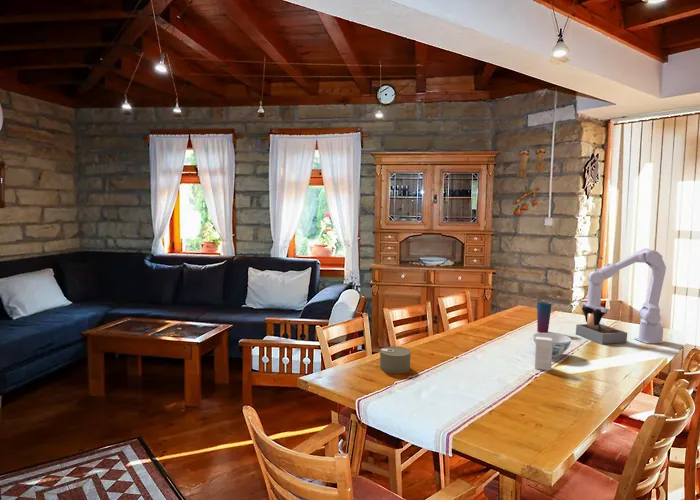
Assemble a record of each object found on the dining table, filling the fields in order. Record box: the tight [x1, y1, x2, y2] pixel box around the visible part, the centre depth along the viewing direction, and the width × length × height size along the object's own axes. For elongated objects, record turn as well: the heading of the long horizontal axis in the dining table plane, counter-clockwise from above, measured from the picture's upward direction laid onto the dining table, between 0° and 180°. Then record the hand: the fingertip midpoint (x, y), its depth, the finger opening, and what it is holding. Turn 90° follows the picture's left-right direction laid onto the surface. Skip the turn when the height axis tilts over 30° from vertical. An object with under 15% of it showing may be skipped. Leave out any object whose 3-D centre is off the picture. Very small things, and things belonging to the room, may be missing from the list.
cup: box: [536, 300, 552, 333], centre depth 241 cm, size 7×7×15 cm
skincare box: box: [534, 337, 553, 371], centre depth 187 cm, size 6×4×12 cm
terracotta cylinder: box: [586, 313, 599, 329], centre depth 232 cm, size 5×5×7 cm
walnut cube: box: [601, 326, 619, 334], centre depth 228 cm, size 5×5×5 cm
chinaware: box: [532, 332, 572, 358], centre depth 204 cm, size 15×15×8 cm
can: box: [379, 345, 412, 374], centre depth 184 cm, size 12×12×7 cm
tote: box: [575, 322, 628, 346], centre depth 231 cm, size 14×18×5 cm
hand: (592, 323), depth 232 cm, fingers closed on terracotta cylinder, 5 cm apart
